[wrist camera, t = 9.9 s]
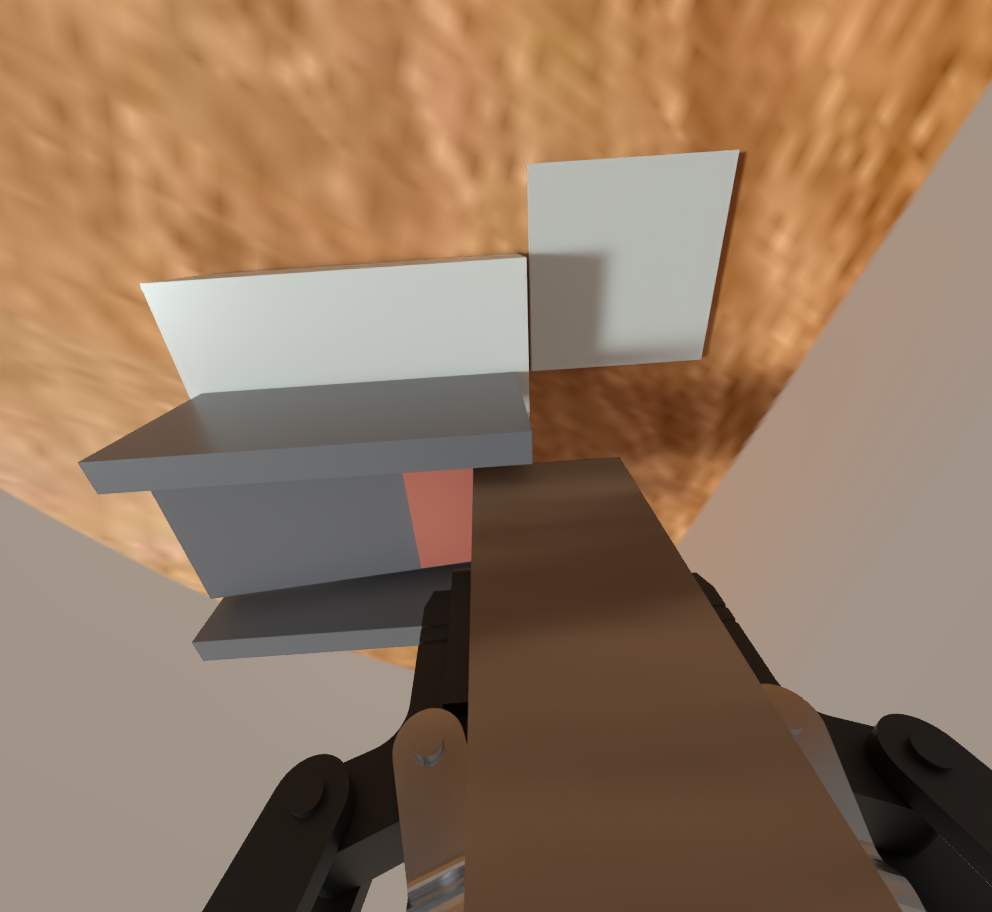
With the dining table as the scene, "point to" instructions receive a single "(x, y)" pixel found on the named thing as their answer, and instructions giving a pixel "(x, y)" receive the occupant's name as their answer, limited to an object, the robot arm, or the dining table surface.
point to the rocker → (321, 528)
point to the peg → (626, 724)
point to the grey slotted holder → (333, 414)
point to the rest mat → (624, 257)
